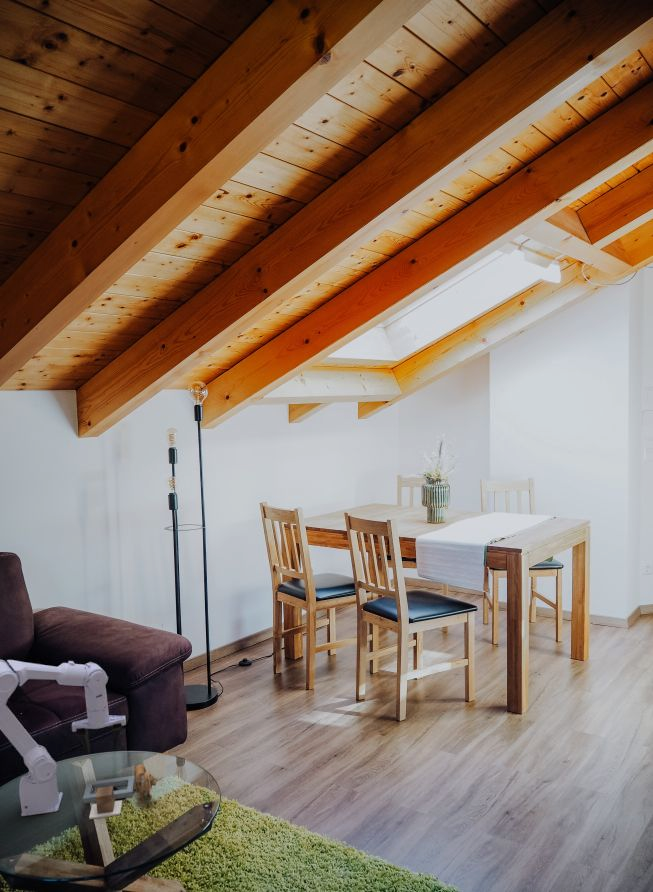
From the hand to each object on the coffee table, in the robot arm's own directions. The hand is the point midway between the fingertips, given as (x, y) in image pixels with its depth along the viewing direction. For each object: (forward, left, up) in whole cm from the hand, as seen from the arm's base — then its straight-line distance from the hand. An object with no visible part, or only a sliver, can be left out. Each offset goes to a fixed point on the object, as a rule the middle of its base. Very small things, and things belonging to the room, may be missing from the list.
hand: (102, 750), depth 218 cm
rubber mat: (+2, -14, -9) cm, 17 cm away
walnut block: (+2, -14, -9) cm, 17 cm away
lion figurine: (+12, -9, -10) cm, 18 cm away
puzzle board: (+2, -6, -9) cm, 11 cm away
